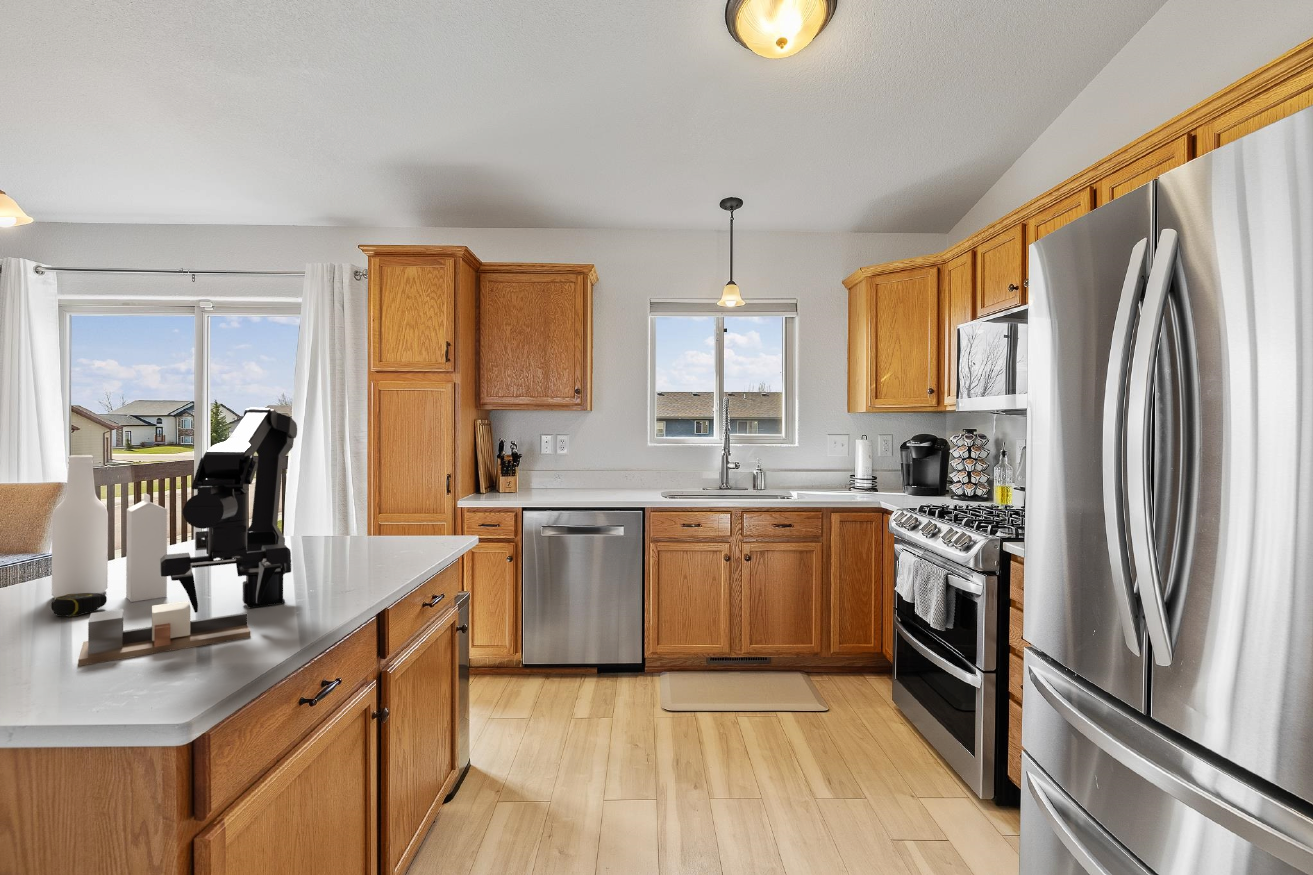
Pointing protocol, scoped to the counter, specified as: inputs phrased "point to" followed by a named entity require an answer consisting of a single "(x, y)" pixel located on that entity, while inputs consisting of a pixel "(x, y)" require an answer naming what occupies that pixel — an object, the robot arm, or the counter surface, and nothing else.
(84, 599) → the tape measure
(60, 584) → the alcohol
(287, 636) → the counter surface
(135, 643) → the board
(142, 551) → the milk
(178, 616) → the sleeve
